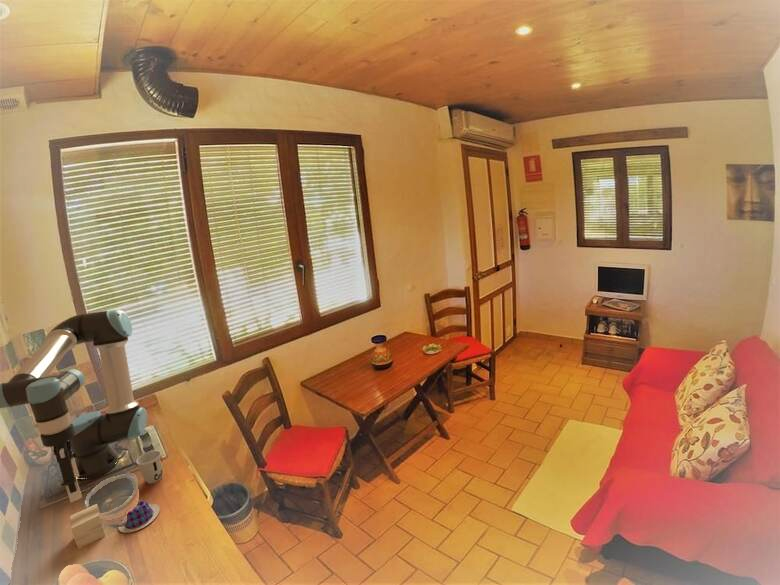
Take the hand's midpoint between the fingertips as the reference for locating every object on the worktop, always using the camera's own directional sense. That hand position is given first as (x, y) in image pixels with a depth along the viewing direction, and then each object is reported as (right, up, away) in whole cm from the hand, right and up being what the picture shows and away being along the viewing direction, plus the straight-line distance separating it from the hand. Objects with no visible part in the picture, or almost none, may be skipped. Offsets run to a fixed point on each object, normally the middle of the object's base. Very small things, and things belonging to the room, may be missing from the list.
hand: (75, 488), depth 118 cm
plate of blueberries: (+14, -16, +10) cm, 23 cm away
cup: (+7, -12, +29) cm, 32 cm away
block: (+1, -18, +5) cm, 19 cm away
